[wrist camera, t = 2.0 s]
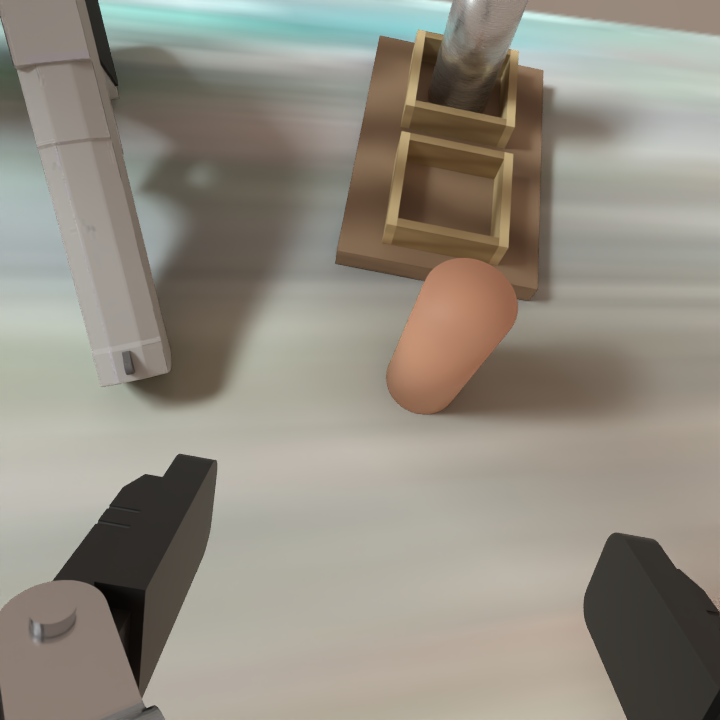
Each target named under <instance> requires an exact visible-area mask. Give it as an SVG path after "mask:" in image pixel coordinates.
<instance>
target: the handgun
mask: <svg viewBox="0 0 720 720" xmlns="http://www.w3.org/2000/svg"><path fill="white" fill-rule="evenodd" d="M0 18H1V21H2V25H3V29H4V33H5V36H6V40H7V44H8V47H9V51H10V55H11V59H12V62H13V66H14V67H15V68H16V69H17V73H18V76H19V80H20V84H21V88H22V91H23V95H24V99H25V103H26V106H27V110H28V114H29V118H30V121H31V125H32V129H33V133H34V137H35V140H36V144H37V148H38V150H39V154H40V157H41V161H42V165H43V169H44V172H45V176H46V180H47V184H48V187H49V191H50V195H51V199H52V202H53V206H54V210H55V214H56V217H57V221H58V225H59V229H60V232H61V236H62V240H63V244H64V247H65V251H66V255H67V258H68V262H69V266H70V270H71V274H72V277H73V281H74V285H75V289H76V292H77V296H78V300H79V304H80V307H81V311H82V315H83V319H84V323H85V326H86V330H87V334H88V338H89V341H90V345H91V349H92V354H93V358H94V362H95V366H96V369H97V373H98V377H99V380H100V384H101V387H105V386H110V385H116V384H122V383H126V382H131V381H135V380H140V379H145V378H149V377H153V376H157V375H161V374H165V373H169V371H170V370H171V351H170V347H169V342H168V338H167V334H166V330H165V326H164V322H163V318H162V314H161V310H160V306H159V302H158V298H157V294H156V290H155V286H154V282H153V278H152V273H151V269H150V265H149V261H148V257H147V253H146V249H145V245H144V241H143V237H142V232H141V228H140V224H139V220H138V216H137V212H136V208H135V204H134V200H133V196H132V191H131V187H130V183H129V179H128V175H127V171H126V167H125V163H124V159H123V155H122V154H123V149H122V145H121V141H120V137H119V133H118V129H117V125H116V120H115V116H114V112H113V108H112V104H111V100H110V99H116V98H119V96H118V91H117V87H116V86H118V82H117V77H116V73H115V69H114V65H113V61H112V57H111V53H110V48H109V44H108V40H107V36H106V32H105V28H104V24H103V20H102V16H101V11H100V7H99V3H98V0H0Z"/></svg>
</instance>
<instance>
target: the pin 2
mask: <svg viewBox="0 0 720 720" xmlns="http://www.w3.org/2000/svg"><path fill="white" fill-rule="evenodd" d="M517 312H518V302H517V297H516V294H515V291H514V289H513V287H512V285H511V284H510V282H509V281H508V279H507V278H506V277H505V276H504V275H503V274H502V273H501V272H500V271H498V270H497V269H496V268H494V267H493V266H491V265H489V264H487V263H485V262H482V261H480V260H476V259H471V258H456V259H451V260H448V261H445V262H443V263H441V264H439V265H438V266H436V267H435V268H434V269H433V270H432V271H431V272H430V273H429V274H428V276H427V278H426V280H425V282H424V284H423V286H422V289H421V291H420V293H419V296H418V298H417V300H416V303H415V305H414V307H413V310H412V312H411V314H410V317H409V319H408V321H407V324H406V326H405V329H404V331H403V333H402V336H401V338H400V340H399V343H398V345H397V347H396V350H395V352H394V354H393V357H392V359H391V361H390V364H389V366H388V369H387V375H386V380H387V386H388V389H389V392H390V394H391V395H392V397H393V398H394V400H395V401H396V402H397V403H398V404H399V405H400V406H402V407H403V408H405V409H406V410H408V411H411V412H414V413H418V414H432V413H436V412H439V411H441V410H443V409H444V408H446V407H447V406H448V405H449V404H450V403H451V402H452V400H453V399H454V398H455V397H456V395H457V394H458V393H459V392H460V391H461V389H462V388H463V387H464V386H465V384H466V383H467V382H468V381H469V380H470V378H471V377H472V376H473V375H474V373H475V372H476V371H477V370H478V368H479V367H480V366H481V365H482V364H483V362H484V361H485V360H486V359H487V357H488V356H489V355H490V354H491V352H492V351H493V350H494V349H495V348H496V346H497V345H498V344H499V343H500V341H501V340H502V339H503V338H504V337H505V335H506V334H507V333H508V332H509V330H510V329H511V328H512V326H513V325H514V322H515V320H516V317H517Z"/></svg>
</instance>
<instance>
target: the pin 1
mask: <svg viewBox="0 0 720 720" xmlns="http://www.w3.org/2000/svg"><path fill="white" fill-rule="evenodd" d="M527 2H528V0H453V3H452V6H451V10H450V13H449V17H448V21H447V24H446V28H445V32H444V35H443V39H442V43H441V46H440V50H439V53H438V57H437V61H436V64H435V68H434V72H433V75H432V79H431V83H430V86H429V90H428V100H429V103H432V104H437V105H442V106H446V107H451V108H456V109H461V110H465V111H470V112H475V113H480V114H482V113H483V112H484V110H485V107H486V105H487V102H488V100H489V97H490V95H491V92H492V90H493V87H494V85H495V82H496V80H497V77H498V75H499V72H500V70H501V67H502V65H503V62H504V60H505V57H506V55H507V52H508V50H509V47H510V45H511V42H512V40H513V37H514V35H515V32H516V30H517V27H518V25H519V22H520V20H521V17H522V15H523V12H524V10H525V7H526V5H527Z"/></svg>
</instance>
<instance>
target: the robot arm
mask: <svg viewBox="0 0 720 720" xmlns="http://www.w3.org/2000/svg"><path fill="white" fill-rule="evenodd" d="M216 476H217V461H216V460H212V459H206V458H201V457H195V456H190V455H184V454H178V455H177V456H176V458H175V459H174V461H173V462H172V464H171V465H170V467H169V468H168V470H167V471H166V473H165V474H164V476H163V477H159V476H153V475H148V474H145V475H143V476H141V477H140V478H138V479H136V480H135V481H133V482H131V483H130V484H128V485H126V486H124V487H123V488H122V489H121V491H120V492H119V493H118V495H117V496H116V497H115V499H114V500H113V501H112V503H111V504H110V507H109V509H106V511H105V512H104V513H103V515H102V516H101V517H100V519H99V520H98V524H95V525H94V527H93V528H92V529H91V531H90V532H89V533H88V535H87V536H86V537H85V539H84V540H83V541H82V543H81V544H80V545H79V547H78V548H77V549H76V550H75V552H74V553H73V554H72V556H71V557H70V558H69V560H68V561H67V562H66V564H65V565H64V566H63V568H62V569H61V570H60V572H59V573H58V574H57V576H56V577H55V578H54V580H53V581H51V582H47V583H43V584H40V585H36V586H34V587H32V588H29V589H27V590H25V591H23V592H22V593H20V594H18V595H17V596H15V597H14V598H13V599H11V600H10V601H9V602H8V603H7V604H6V605H5V606H4V607H3V608H2V609H1V611H0V720H165V718H164V716H163V715H162V713H161V711H160V710H159V708H158V707H157V706H155V705H154V706H151V707H148V708H146V707H145V705H144V703H143V701H142V697H143V695H144V693H145V690H146V688H147V686H148V683H149V681H150V679H151V676H152V674H153V672H154V669H155V667H156V665H157V662H158V660H159V658H160V655H161V653H162V651H163V648H164V646H165V644H166V641H167V639H168V637H169V635H170V632H171V630H172V628H173V625H174V623H175V621H176V618H177V616H178V614H179V611H180V609H181V607H182V604H183V602H184V600H185V597H186V595H187V593H188V590H189V588H190V586H191V583H192V581H193V579H194V576H195V574H196V572H197V569H198V567H199V565H200V563H201V560H202V558H203V555H204V552H205V549H206V546H207V542H208V538H209V534H210V528H211V521H212V512H213V503H214V494H215V485H216ZM584 618H585V622H586V625H587V628H588V630H589V632H590V634H591V637H592V639H593V641H594V644H595V646H596V648H597V651H598V653H599V655H600V658H601V660H602V662H603V664H604V667H605V669H606V671H607V674H608V676H609V678H610V681H611V683H612V685H613V688H614V690H615V692H616V694H617V697H618V699H619V701H620V704H621V706H622V708H623V711H624V713H625V715H626V718H627V720H720V612H719V611H718V609H717V608H716V606H715V605H714V604H713V602H712V601H711V600H710V598H709V597H708V596H707V594H706V593H705V591H704V590H703V589H702V588H700V587H699V586H698V585H697V584H696V583H695V582H693V581H692V580H691V579H690V578H689V577H688V576H687V575H685V574H684V573H683V572H682V571H681V570H680V569H676V567H675V566H674V564H673V563H672V562H671V560H670V559H669V557H668V556H667V555H666V553H665V552H664V550H663V549H662V547H661V546H660V545H659V543H658V542H657V541H655V540H654V539H650V538H645V537H639V536H633V535H628V534H622V533H613V534H611V535H610V536H609V538H608V539H607V541H606V544H605V546H604V548H603V551H602V553H601V556H600V558H599V561H598V563H597V565H596V568H595V570H594V573H593V575H592V577H591V580H590V582H589V585H588V587H587V590H586V593H585V597H584Z"/></svg>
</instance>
